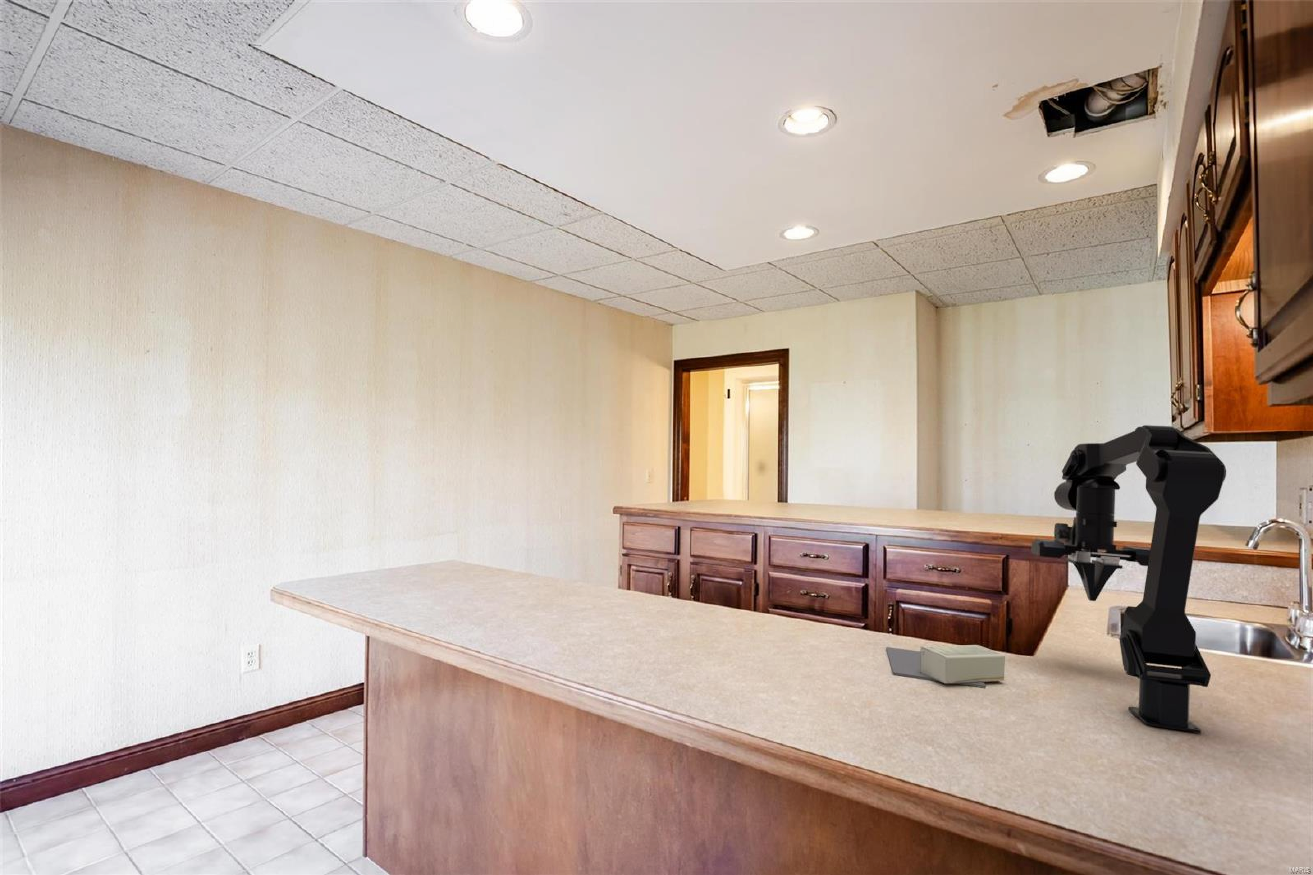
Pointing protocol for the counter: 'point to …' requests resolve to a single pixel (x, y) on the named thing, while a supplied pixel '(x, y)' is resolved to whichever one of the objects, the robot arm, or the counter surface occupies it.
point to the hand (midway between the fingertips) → (1091, 600)
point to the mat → (912, 665)
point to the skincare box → (962, 663)
